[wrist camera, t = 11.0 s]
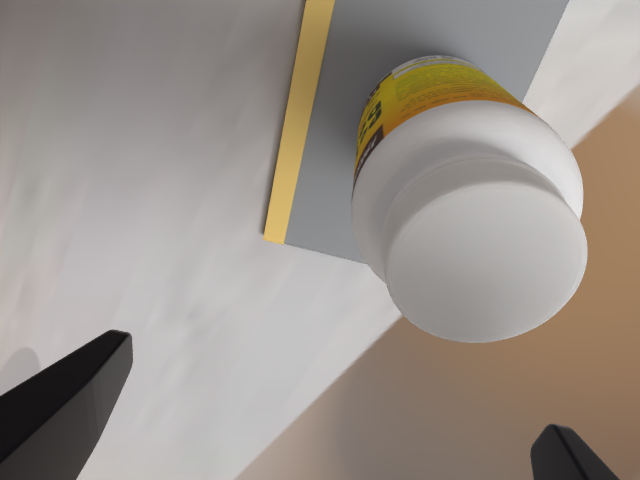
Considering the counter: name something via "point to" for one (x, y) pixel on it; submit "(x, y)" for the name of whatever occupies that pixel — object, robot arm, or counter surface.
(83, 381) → the robot arm
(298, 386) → the counter surface
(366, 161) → the supplement bottle
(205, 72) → the counter surface
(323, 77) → the mat
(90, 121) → the counter surface
